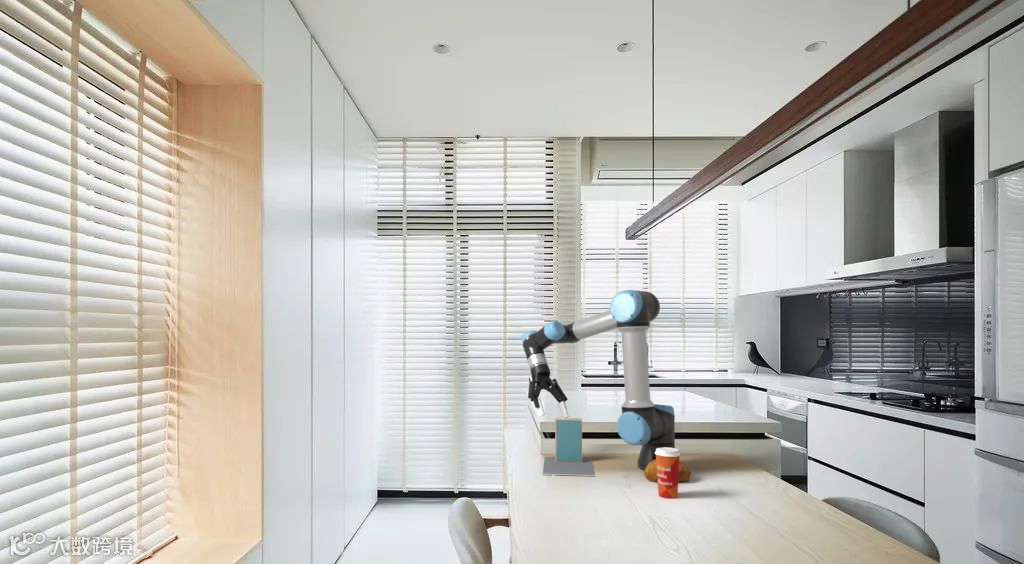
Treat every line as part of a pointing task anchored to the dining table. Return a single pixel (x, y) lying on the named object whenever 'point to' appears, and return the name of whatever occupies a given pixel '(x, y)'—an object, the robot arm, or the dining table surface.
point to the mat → (568, 467)
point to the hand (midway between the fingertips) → (554, 417)
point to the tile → (568, 440)
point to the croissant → (652, 472)
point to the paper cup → (667, 471)
